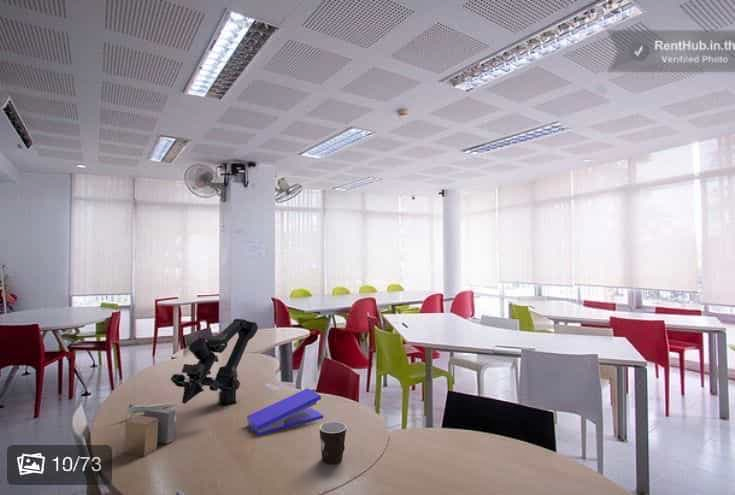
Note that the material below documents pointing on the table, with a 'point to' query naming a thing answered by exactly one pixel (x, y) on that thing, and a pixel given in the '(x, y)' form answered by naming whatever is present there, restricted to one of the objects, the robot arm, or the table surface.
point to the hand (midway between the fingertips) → (183, 403)
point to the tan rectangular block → (141, 435)
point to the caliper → (143, 407)
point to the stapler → (285, 413)
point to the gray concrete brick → (163, 423)
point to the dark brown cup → (332, 441)
